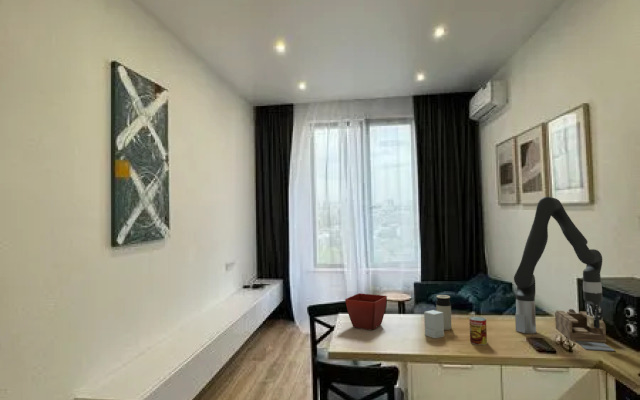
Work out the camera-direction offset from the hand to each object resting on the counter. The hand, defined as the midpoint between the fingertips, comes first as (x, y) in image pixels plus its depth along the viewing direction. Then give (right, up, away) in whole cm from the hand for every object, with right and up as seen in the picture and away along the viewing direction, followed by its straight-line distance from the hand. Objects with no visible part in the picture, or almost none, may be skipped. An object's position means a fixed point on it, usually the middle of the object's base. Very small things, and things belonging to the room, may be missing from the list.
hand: (594, 326), depth 186 cm
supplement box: (-71, -12, +20) cm, 75 cm away
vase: (+13, -11, +36) cm, 40 cm away
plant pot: (-105, -13, +40) cm, 113 cm away
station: (+3, -10, +10) cm, 15 cm away
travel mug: (-62, -12, +34) cm, 72 cm away
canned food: (-53, -11, +8) cm, 55 cm away
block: (0, 0, 0) cm, 0 cm away
